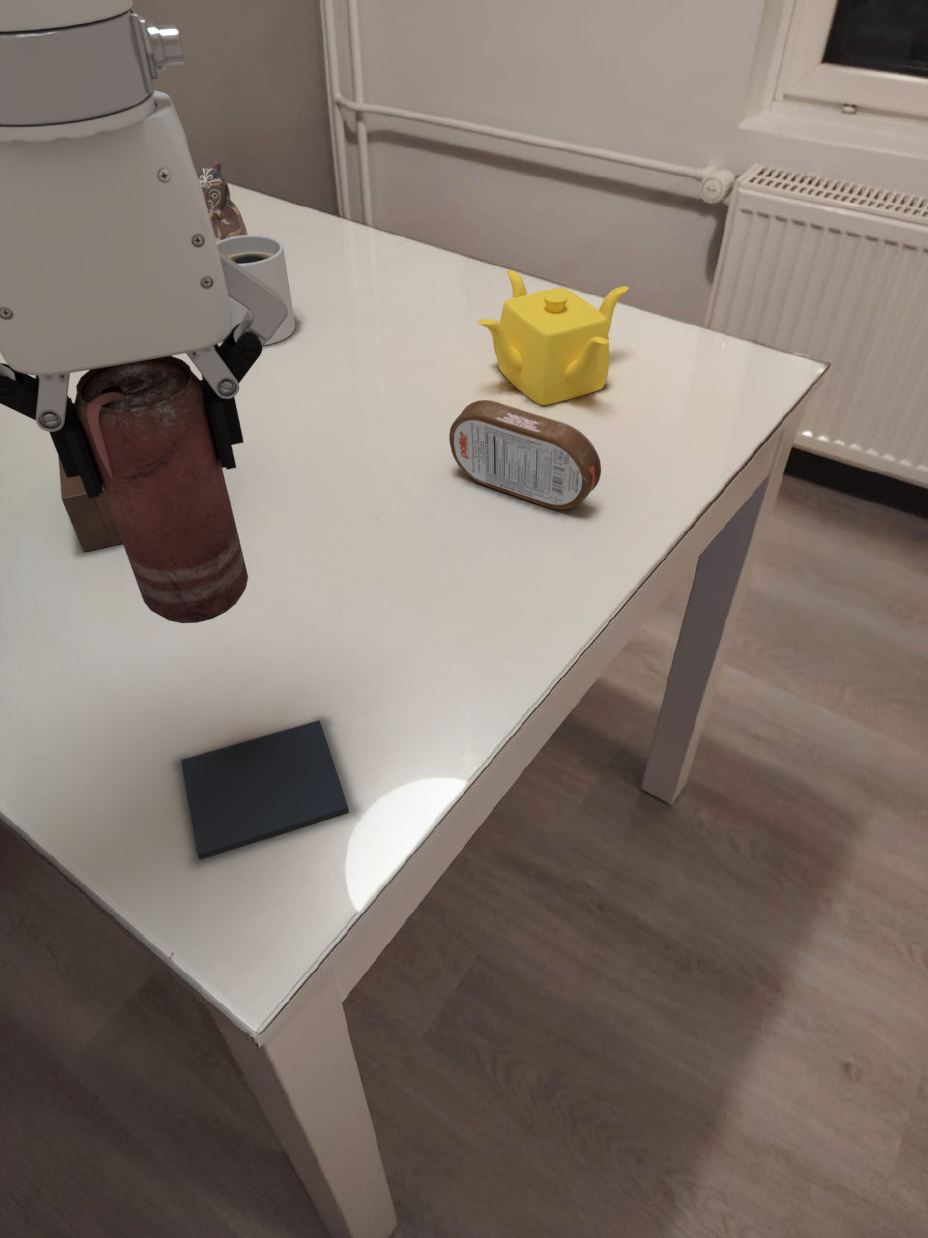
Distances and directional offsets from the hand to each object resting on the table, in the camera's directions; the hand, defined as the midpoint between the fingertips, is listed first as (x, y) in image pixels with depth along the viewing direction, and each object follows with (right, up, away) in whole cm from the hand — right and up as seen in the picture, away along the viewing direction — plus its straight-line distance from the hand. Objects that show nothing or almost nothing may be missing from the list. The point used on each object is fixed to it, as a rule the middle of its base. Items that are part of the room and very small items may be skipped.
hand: (160, 466), depth 45 cm
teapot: (+26, +20, +55) cm, 63 cm away
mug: (-11, +28, +63) cm, 70 cm away
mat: (+2, -20, +15) cm, 25 cm away
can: (0, -7, +6) cm, 9 cm away
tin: (+21, +4, +39) cm, 45 cm away
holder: (-15, +4, +38) cm, 41 cm away
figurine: (-18, +44, +79) cm, 92 cm away
